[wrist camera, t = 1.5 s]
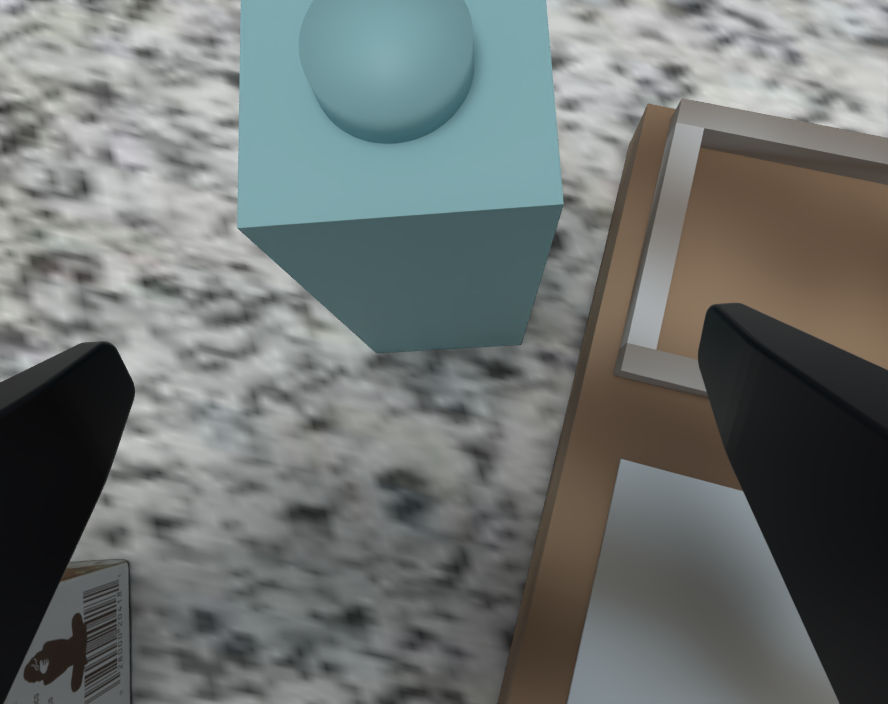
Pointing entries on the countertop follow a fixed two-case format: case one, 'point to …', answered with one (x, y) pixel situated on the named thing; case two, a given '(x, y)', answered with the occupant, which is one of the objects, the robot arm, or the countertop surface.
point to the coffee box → (81, 641)
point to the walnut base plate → (693, 414)
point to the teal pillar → (403, 161)
